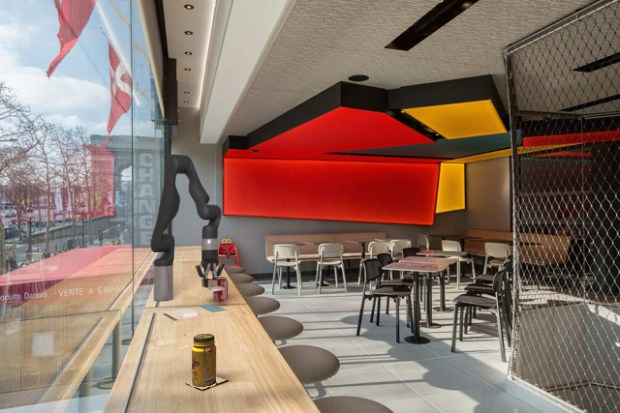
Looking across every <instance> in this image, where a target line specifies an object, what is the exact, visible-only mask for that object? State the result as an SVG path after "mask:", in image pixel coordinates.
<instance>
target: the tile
mask: <svg viewBox="0 0 620 413" xmlns="http://www.w3.org/2000/svg"><path fill="white" fill-rule="evenodd" d="M198 314H199V313H198V311H197V310H194V309H193V308H190V307H188V308H187V307H186V308H181V309H175V315H177V316H178V317H180V318H183V319H187V318H193V317H198V316H199V315H198Z"/></svg>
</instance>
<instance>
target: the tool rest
mask: <svg viewBox="0 0 620 413" xmlns="http://www.w3.org/2000/svg"><path fill="white" fill-rule="evenodd" d="M196 306H197V307H199V308H201V309H203V310H205V311H209V312H210V313H218V312H224V311H225V312H226V311H227V309H225V308H223V307H221V306H218V305H215V304H213V303H205V304H197V305H196Z"/></svg>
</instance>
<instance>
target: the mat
mask: <svg viewBox="0 0 620 413" xmlns="http://www.w3.org/2000/svg"><path fill="white" fill-rule="evenodd" d="M162 316H165V317H167V318H168V319H170V320H172V321H174V322H175V321H176V322H177V321H179V320H178V319H176V318H174V317H173V316H171V315H169V314H167V313H162Z"/></svg>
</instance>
